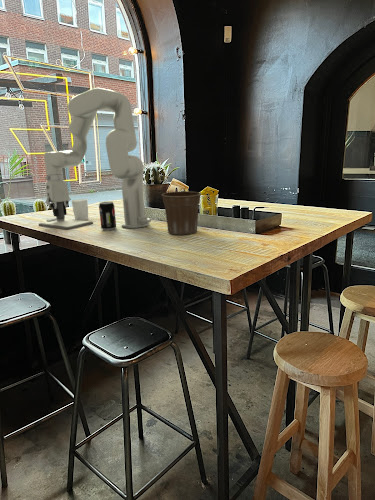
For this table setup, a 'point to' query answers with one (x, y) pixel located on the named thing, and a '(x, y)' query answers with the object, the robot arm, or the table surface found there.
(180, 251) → the table surface
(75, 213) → the white cup
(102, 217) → the beverage can
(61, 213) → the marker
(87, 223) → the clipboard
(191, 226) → the plant pot
